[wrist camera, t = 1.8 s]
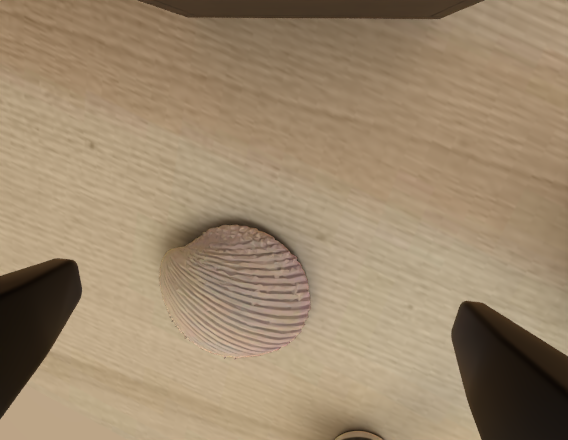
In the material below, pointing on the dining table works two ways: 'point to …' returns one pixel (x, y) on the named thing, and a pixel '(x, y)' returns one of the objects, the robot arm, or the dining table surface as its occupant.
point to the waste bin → (314, 8)
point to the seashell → (235, 291)
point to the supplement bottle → (358, 436)
